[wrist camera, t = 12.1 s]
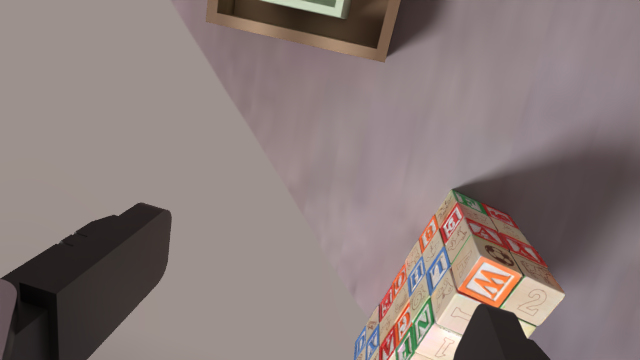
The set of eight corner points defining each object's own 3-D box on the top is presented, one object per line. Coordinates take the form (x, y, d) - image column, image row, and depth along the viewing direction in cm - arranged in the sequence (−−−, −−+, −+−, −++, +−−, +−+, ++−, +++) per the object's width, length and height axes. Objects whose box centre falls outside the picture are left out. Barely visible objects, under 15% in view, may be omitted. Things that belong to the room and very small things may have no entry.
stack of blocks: (403, 363, 45) (411, 477, 33) (354, 341, 45) (345, 447, 33) (510, 213, 36) (570, 296, 25) (450, 186, 36) (482, 256, 25)
